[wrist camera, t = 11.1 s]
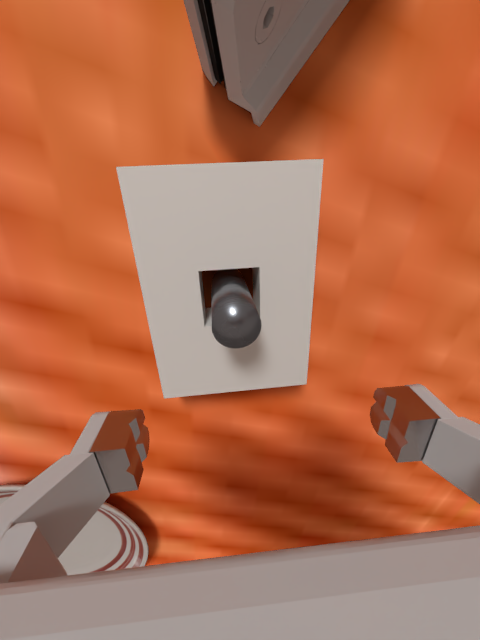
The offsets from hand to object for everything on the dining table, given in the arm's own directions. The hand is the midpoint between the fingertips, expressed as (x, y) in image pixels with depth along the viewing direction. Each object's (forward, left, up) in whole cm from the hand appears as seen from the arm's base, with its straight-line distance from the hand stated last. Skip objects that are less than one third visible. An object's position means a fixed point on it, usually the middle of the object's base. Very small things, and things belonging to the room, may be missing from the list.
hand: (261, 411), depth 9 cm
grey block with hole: (0, 0, -16) cm, 16 cm away
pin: (0, 0, -16) cm, 16 cm away
